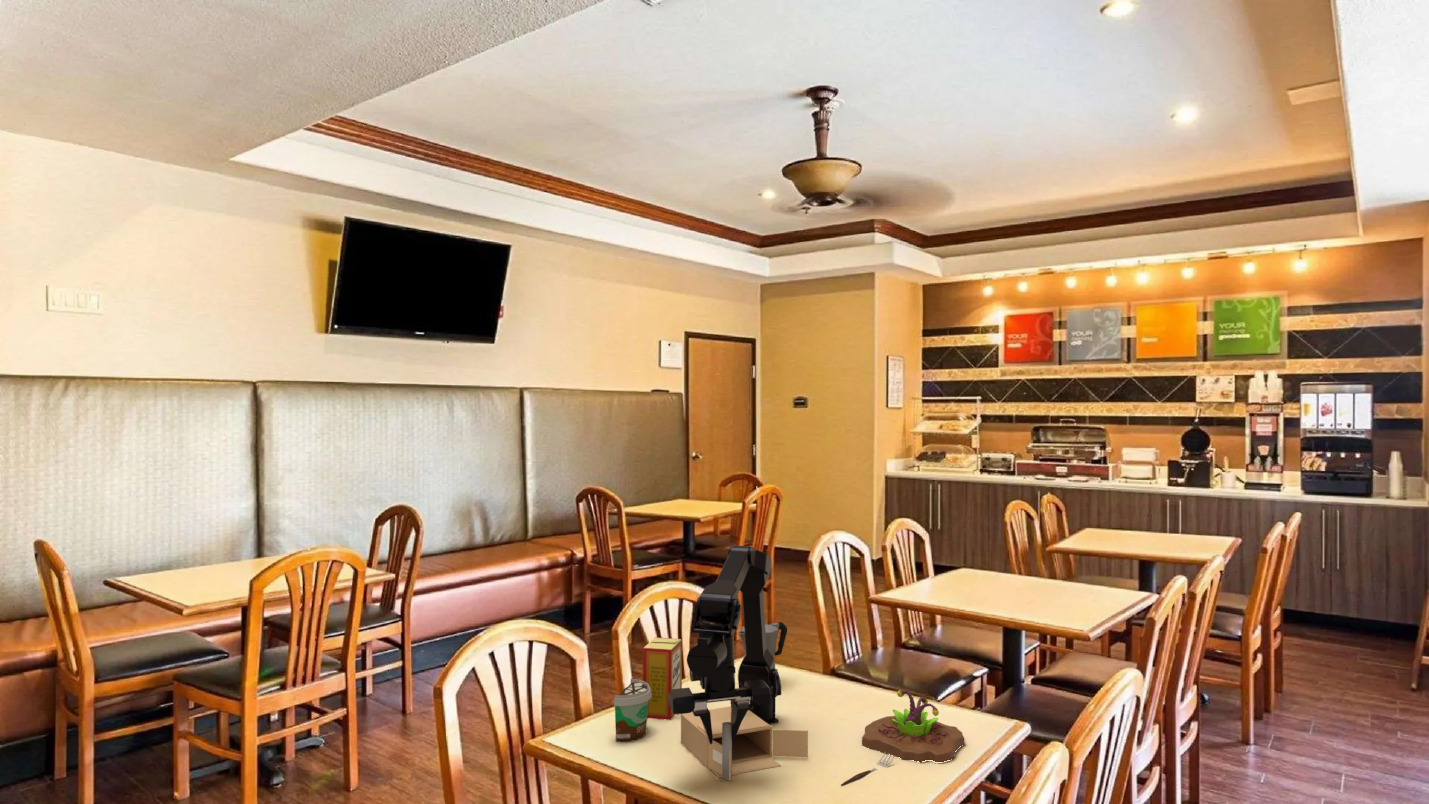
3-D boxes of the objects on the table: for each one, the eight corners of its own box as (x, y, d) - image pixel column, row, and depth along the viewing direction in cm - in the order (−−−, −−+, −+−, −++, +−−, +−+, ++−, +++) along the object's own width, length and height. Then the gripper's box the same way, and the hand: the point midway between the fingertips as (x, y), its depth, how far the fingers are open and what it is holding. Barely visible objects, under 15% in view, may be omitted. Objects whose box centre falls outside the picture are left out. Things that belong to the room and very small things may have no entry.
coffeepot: (750, 698, 203) (750, 623, 203) (727, 688, 211) (727, 616, 211) (798, 687, 212) (798, 615, 212) (774, 677, 219) (774, 608, 220)
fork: (835, 785, 156) (835, 775, 156) (884, 761, 167) (884, 751, 167) (846, 790, 154) (846, 779, 154) (895, 765, 165) (895, 755, 165)
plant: (885, 720, 190) (885, 670, 190) (972, 738, 179) (972, 685, 180) (849, 750, 173) (849, 695, 173) (944, 771, 162) (943, 713, 163)
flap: (733, 778, 157) (734, 724, 157) (726, 780, 156) (726, 726, 156) (712, 765, 162) (713, 713, 163) (705, 767, 161) (705, 715, 162)
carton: (766, 728, 184) (766, 699, 184) (810, 760, 166) (810, 728, 167) (680, 742, 175) (681, 712, 175) (717, 778, 158) (717, 744, 158)
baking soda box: (670, 720, 189) (671, 648, 189) (642, 717, 190) (643, 646, 190) (681, 705, 198) (681, 637, 198) (655, 703, 199) (655, 635, 200)
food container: (642, 747, 173) (642, 698, 173) (613, 744, 174) (613, 696, 175) (658, 725, 185) (658, 679, 185) (631, 723, 186) (631, 677, 187)
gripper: (755, 641, 167) (757, 719, 167) (662, 650, 163) (665, 731, 163) (771, 658, 156) (774, 742, 156) (672, 669, 152) (675, 755, 152)
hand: (721, 741), depth 157 cm, fingers open, 4 cm apart
